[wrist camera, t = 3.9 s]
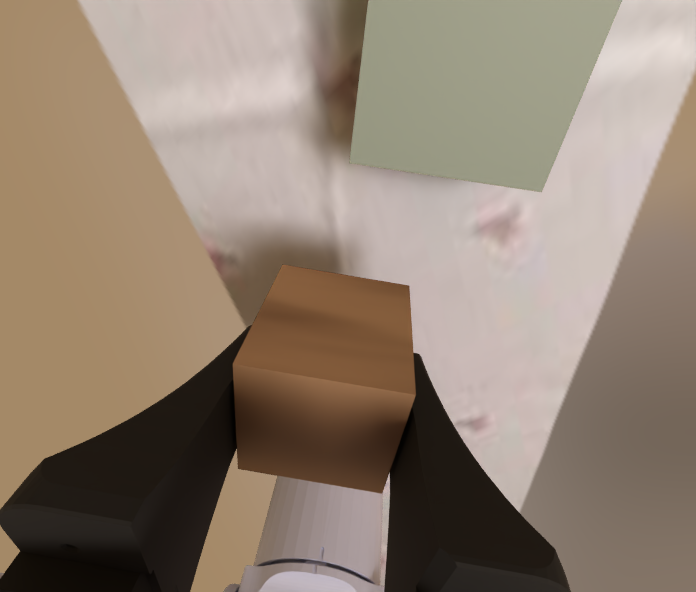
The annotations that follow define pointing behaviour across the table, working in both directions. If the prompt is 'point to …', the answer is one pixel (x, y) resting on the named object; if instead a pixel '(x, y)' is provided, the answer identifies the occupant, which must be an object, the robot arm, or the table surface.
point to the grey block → (474, 85)
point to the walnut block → (325, 379)
